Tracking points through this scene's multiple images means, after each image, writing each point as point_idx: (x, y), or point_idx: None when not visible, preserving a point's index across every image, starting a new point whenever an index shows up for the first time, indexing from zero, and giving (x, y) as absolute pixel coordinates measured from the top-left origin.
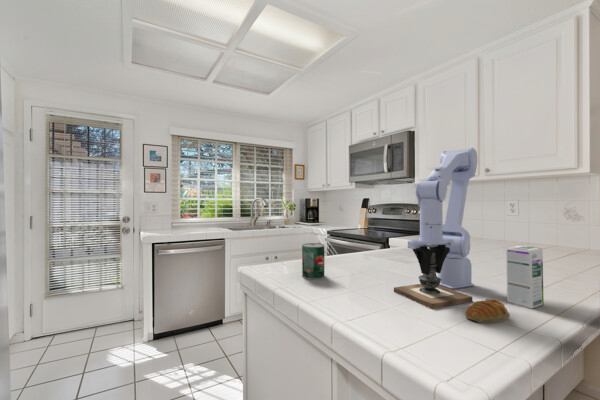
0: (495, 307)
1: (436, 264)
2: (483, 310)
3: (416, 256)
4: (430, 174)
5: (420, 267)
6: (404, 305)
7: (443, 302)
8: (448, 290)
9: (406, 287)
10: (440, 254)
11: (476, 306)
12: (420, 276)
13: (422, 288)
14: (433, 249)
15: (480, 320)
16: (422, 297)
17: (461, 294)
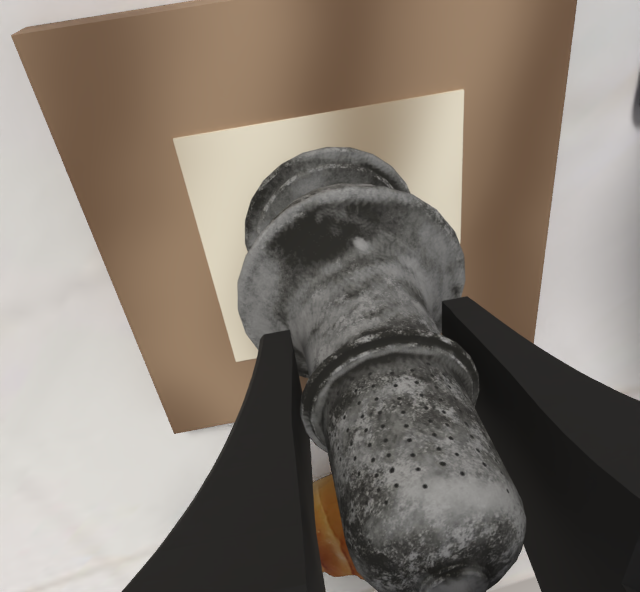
0: None
1: (481, 406)
2: (336, 571)
3: (195, 498)
4: None
5: (252, 377)
6: (14, 347)
7: None
8: (502, 234)
9: (173, 69)
10: (548, 581)
11: (338, 552)
12: (282, 251)
13: (282, 209)
14: (605, 556)
15: None
16: (181, 336)
17: (506, 323)
